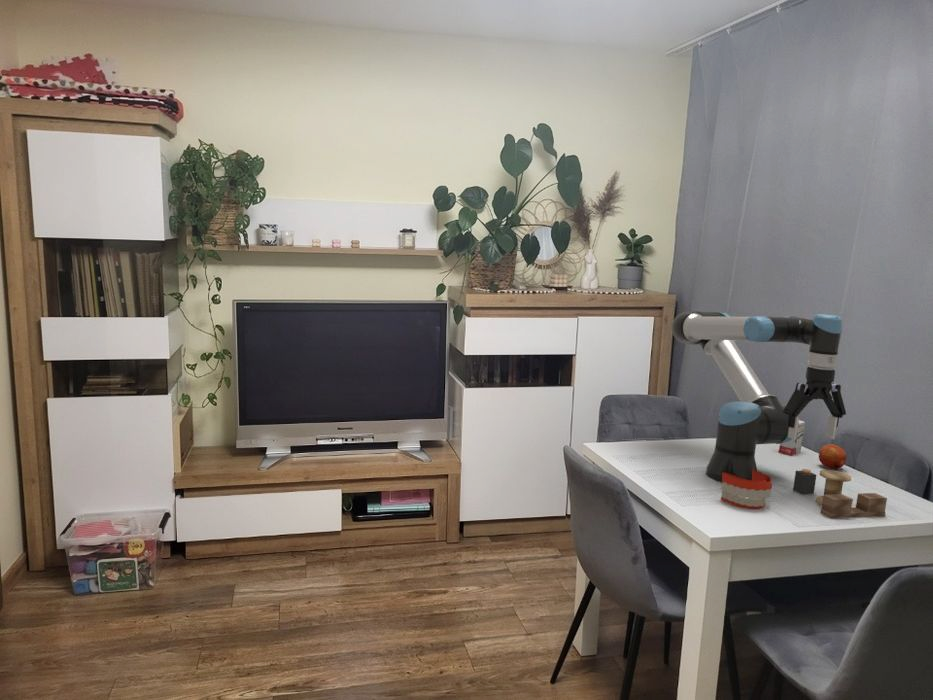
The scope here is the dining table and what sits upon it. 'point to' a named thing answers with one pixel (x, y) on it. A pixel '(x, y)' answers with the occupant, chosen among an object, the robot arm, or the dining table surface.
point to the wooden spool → (832, 483)
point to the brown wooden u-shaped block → (843, 507)
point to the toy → (746, 490)
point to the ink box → (793, 442)
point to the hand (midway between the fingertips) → (811, 438)
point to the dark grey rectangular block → (804, 482)
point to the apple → (832, 456)
